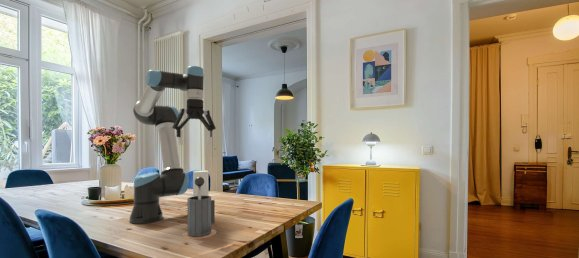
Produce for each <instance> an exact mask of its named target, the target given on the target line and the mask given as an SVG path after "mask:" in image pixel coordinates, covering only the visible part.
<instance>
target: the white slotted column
mask: <svg viewBox="0 0 579 258" xmlns="http://www.w3.org/2000/svg"><path fill="white" fill-rule="evenodd" d="M192 172H193V173H192V177H193V179H192V186H193V188H192V189H193V190H192V195H193V196H198V186H196V185H195V179H196V178H197V177H202V178H203V179H204V184H203V185H202V186H201V196H209V170H194V171H192ZM193 196H192V197H193Z"/></svg>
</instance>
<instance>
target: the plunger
mask: <svg viewBox="0 0 579 258" xmlns="http://www.w3.org/2000/svg"><path fill="white" fill-rule="evenodd" d="M203 184H204V179H203V178H202V177H197V178H196V179H195V185H196V186H198V200H200V199H201V186H202V185H203Z"/></svg>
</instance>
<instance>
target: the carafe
mask: <svg viewBox="0 0 579 258" xmlns="http://www.w3.org/2000/svg"><path fill="white" fill-rule="evenodd" d="M215 207H216V205H215V199H212V196H210V195H208V196H201V199H200V200H198V196H190V197H187V209H186V210H187V211H186V212H187V220H186V221H187V223H186V224H187V229H186V230H187V231H186V232H187V233H188V236H190V237H203V236H207V235H209V234H211V229H212V225H213V224H215V222H216V221H215V217H216V216H215V214H216V213H215Z"/></svg>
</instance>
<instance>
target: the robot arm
mask: <svg viewBox="0 0 579 258" xmlns="http://www.w3.org/2000/svg"><path fill="white" fill-rule="evenodd" d="M204 77H205V75H204V68H203V67H201V66H199V65H198V66H197V65H190V66H187V68H186V72H185V74H183V73H178V72H169V71H165V70H164V71H163V70H157V69H156V70H155V69H149V70H148V71H146V76H145V83H146V84H147V85H146V87H145V89H144V91H143V94H142V95H141V97H140V99H139V100H138V101H137V102H136V103H135V104H134V106H133V109H132V111H133V116H134V117H135V118H136V120H137V121H139V122H140V123H142V124H144V125H148V126H155V130H156V131H158V135H159V142H160V150H161V159H162V166H163V169H162V170H161V171H160V173H159V172H148V173H144V174H139V175H137V176H136V177H135V178H134V180H133V207H132V210H131V212H130V215H129V222H130V223H131V224H147V223H154V222H156V221H160V220H162V219H163V216H164V215H163V211H162V208H161V205H160V198H163V197H164V198H165V197H171V196H179V195H180V196H181V195H183V194H185V193H186V192H187V191H188V188H189V184H190V183H189V181H190V178H189V174H188V172H184V168H182V166H180V165H181V164H180V158H179V150H178V145H179V146H181V145H184V144H183V142H184V139H183V137H184V134H183V132H184V131H183V129H182V128H184V127H185V125H186V124H187V123H188V122H189V120H199V121H200V122H201V123H202V125H204V127H205V128H206V130H205V131H206V132H205V133H206V134H205V137H206V138H205V140H206V141H205V142H206V143H205V144H206V145H211V138H212V137H213V133H212V132H213V131H214V130H216V126H215V123H214V121H213V118H212V117H211V112H210V109H207V110H204V82H205V81H204ZM165 89H176V90H179V91H182V92H186V109H185V108H180V109H179V110H178V108H176V107H175V106H170V105H157V102H158V101H159V99H160V97H161V96H162V94H163V93H164V90H165ZM185 114H186V116H185V117H184V119H183V116H184V115H185ZM204 115H205V116H204ZM205 118H206V119H205ZM182 119H183V120H182ZM177 138H178V142H177Z"/></svg>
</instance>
